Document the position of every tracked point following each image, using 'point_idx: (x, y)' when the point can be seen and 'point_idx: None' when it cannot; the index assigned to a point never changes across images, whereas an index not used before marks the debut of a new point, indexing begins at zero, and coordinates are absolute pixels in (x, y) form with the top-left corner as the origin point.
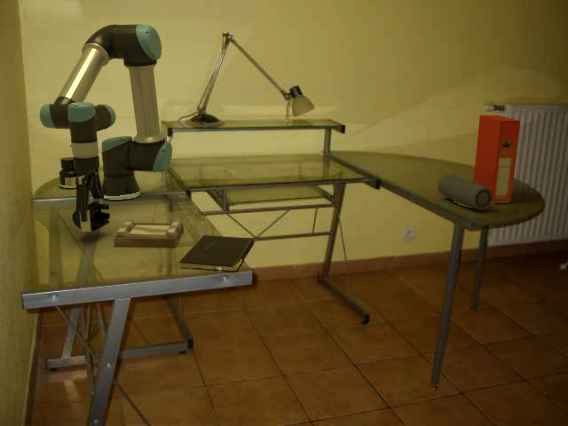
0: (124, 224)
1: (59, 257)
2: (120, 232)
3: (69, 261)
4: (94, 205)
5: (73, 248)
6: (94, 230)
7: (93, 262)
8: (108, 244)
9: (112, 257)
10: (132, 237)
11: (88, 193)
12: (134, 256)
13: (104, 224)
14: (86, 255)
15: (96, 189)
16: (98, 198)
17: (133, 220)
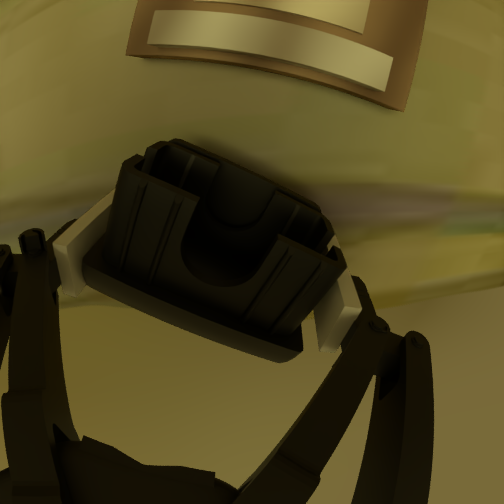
0: (240, 45)
1: (422, 291)
2: (388, 73)
3: (464, 262)
4: (159, 272)
5: (358, 262)
6: (320, 210)
7: (500, 197)
8: (351, 131)
9: (487, 134)
10: (402, 25)
11: (330, 428)
12: (494, 62)
13: (229, 162)
14: (443, 217)
15: (46, 336)
16: (52, 262)
17: (160, 10)
